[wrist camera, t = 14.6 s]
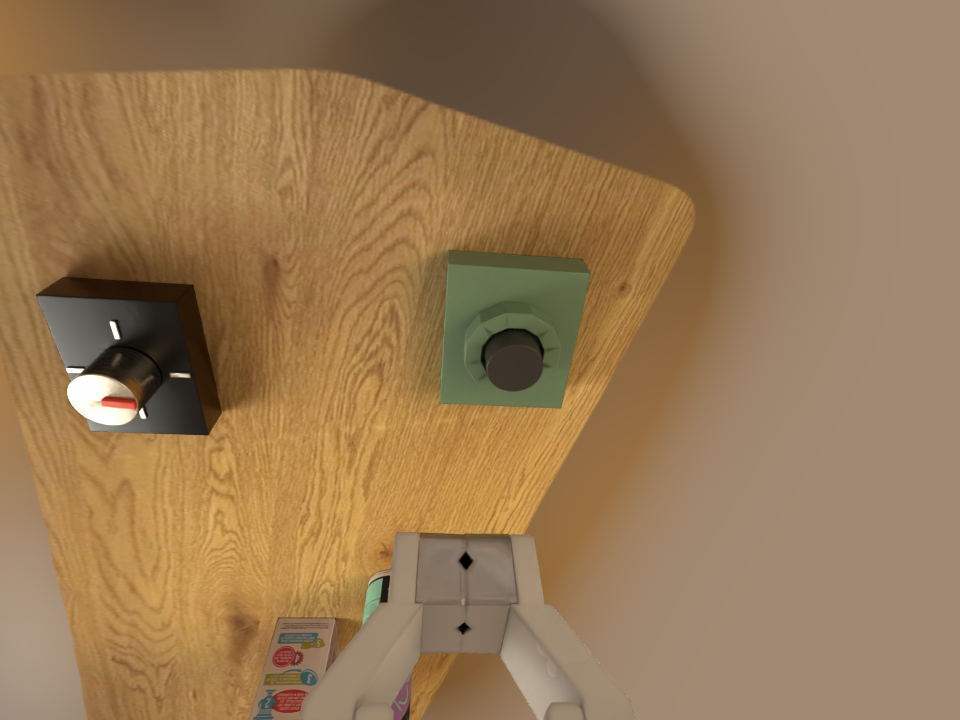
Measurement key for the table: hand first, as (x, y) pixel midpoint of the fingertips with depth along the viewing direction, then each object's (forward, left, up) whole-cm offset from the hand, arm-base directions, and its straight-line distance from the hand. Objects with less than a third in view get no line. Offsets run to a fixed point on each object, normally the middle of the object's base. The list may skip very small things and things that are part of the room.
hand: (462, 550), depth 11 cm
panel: (+14, -23, -29) cm, 39 cm away
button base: (+10, +5, -29) cm, 31 cm away
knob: (+14, -23, -26) cm, 37 cm away
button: (+10, +5, -24) cm, 27 cm away
